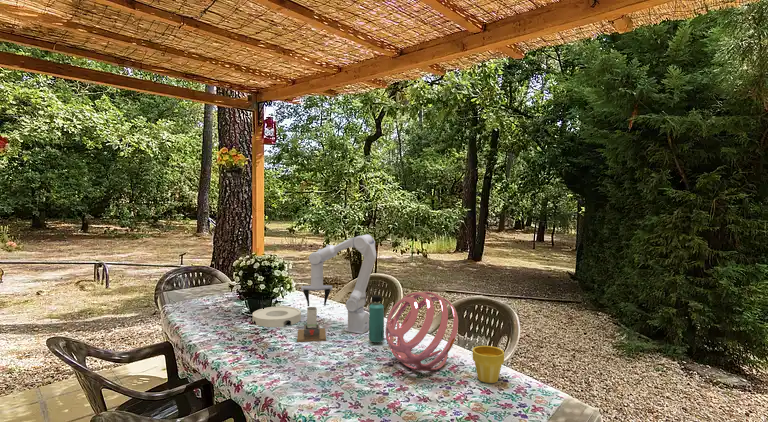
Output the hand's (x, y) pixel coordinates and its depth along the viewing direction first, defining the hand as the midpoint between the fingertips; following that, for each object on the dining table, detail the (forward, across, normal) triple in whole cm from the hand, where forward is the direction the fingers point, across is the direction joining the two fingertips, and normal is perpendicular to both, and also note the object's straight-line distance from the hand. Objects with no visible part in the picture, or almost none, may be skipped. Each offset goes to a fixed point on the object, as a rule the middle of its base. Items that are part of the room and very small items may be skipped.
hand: (316, 305), depth 198 cm
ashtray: (+10, +19, -11) cm, 24 cm away
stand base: (+9, +2, +16) cm, 18 cm away
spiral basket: (+10, -36, +53) cm, 65 cm away
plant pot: (+10, -56, +68) cm, 89 cm away
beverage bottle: (+10, -24, +28) cm, 38 cm away
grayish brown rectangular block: (+5, +2, +15) cm, 17 cm away
